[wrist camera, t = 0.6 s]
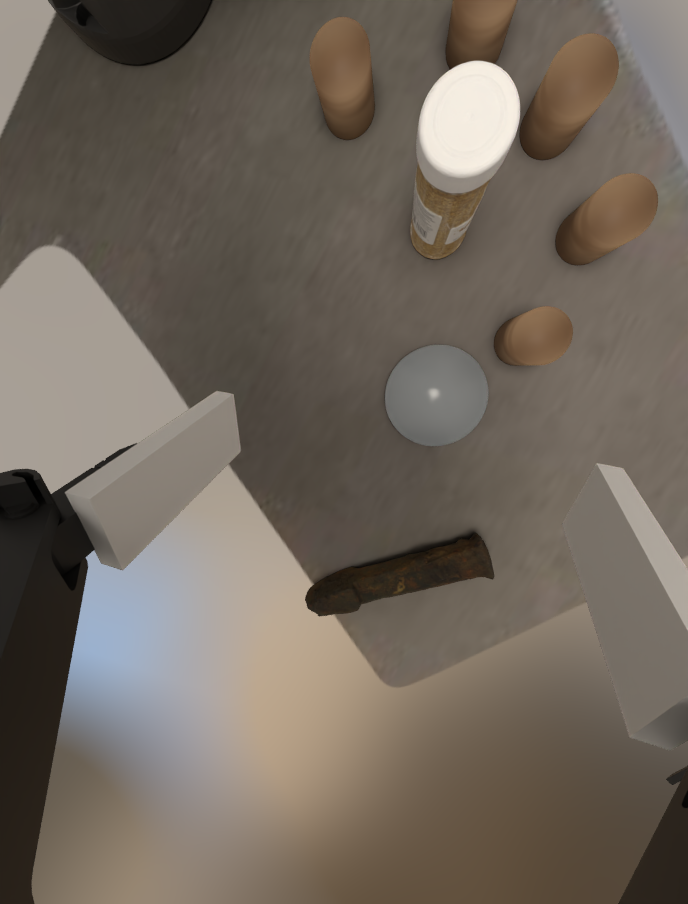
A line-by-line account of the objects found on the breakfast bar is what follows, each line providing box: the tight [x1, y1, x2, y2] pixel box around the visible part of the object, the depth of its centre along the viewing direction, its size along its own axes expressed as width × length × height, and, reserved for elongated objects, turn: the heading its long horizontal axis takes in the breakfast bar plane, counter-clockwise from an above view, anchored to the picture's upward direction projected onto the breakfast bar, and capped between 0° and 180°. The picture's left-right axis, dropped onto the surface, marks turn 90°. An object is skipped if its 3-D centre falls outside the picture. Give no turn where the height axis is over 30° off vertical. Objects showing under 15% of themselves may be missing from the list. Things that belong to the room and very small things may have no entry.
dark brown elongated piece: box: [305, 533, 494, 616], centre depth 34 cm, size 19×4×5 cm, turn 108°
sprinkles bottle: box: [410, 61, 520, 259], centre depth 22 cm, size 5×5×14 cm
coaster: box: [385, 345, 488, 446], centre depth 32 cm, size 9×9×1 cm
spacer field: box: [310, 0, 658, 366], centre depth 26 cm, size 26×18×5 cm
